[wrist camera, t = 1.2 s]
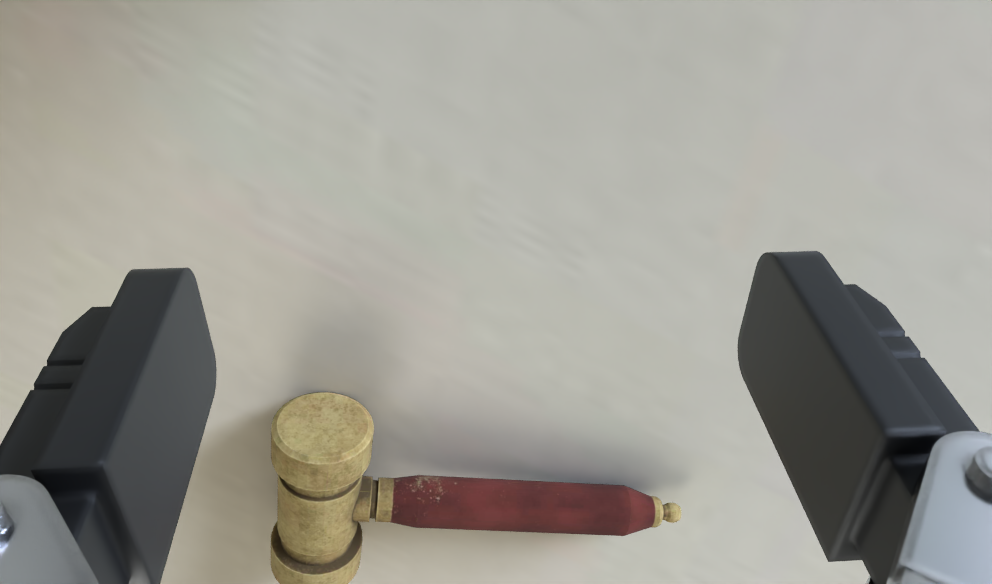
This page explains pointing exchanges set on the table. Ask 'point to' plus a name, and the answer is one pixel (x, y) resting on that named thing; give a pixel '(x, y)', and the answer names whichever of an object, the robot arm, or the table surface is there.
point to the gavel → (410, 496)
